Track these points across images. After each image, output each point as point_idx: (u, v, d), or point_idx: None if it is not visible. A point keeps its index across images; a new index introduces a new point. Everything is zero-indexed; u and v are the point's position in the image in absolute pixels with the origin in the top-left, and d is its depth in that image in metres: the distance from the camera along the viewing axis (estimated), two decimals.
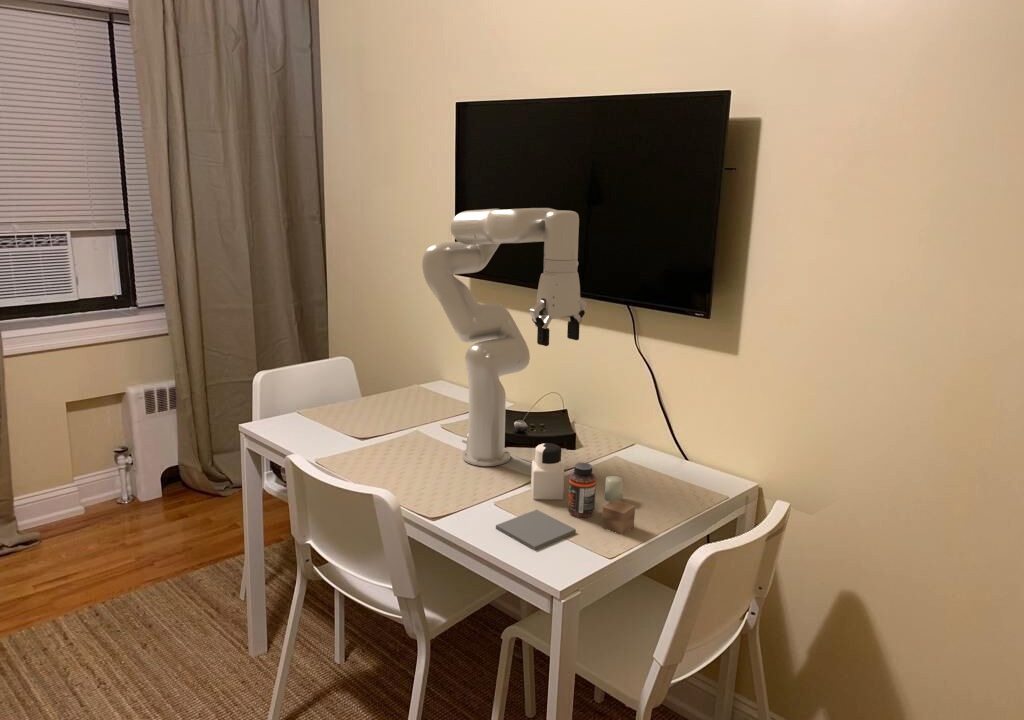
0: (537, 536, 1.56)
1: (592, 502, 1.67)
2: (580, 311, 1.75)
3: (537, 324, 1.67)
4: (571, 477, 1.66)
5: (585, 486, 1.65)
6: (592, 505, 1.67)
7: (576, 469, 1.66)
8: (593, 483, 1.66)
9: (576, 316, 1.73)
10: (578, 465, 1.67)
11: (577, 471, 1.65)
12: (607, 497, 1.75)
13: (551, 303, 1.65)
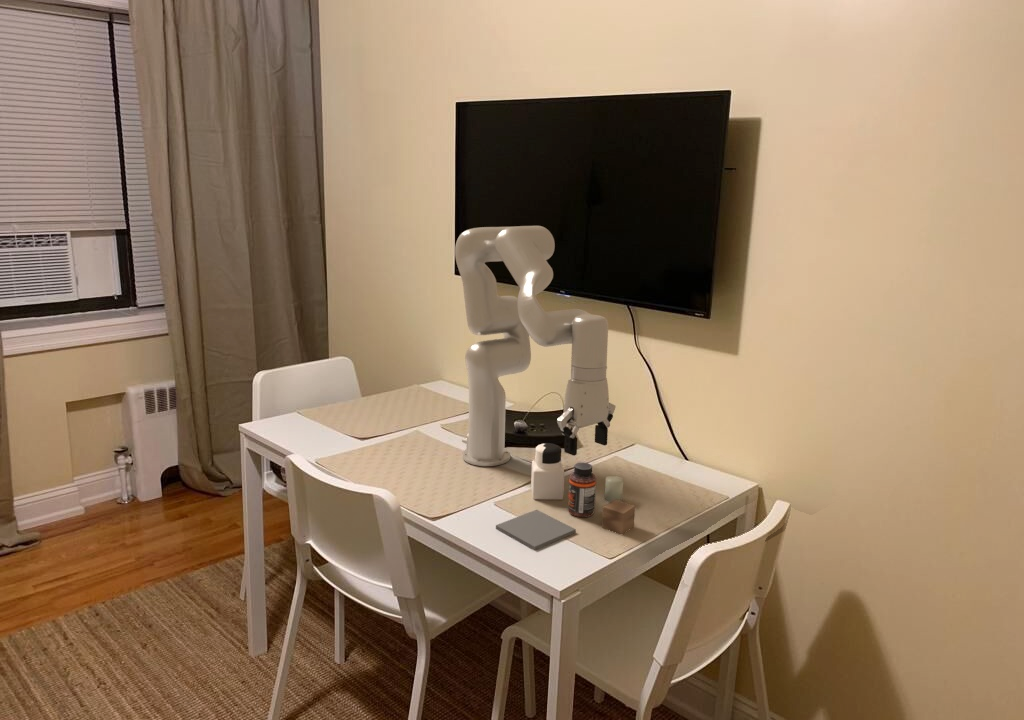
0: (537, 536, 1.56)
1: (592, 502, 1.67)
2: (608, 415, 1.68)
3: (564, 433, 1.60)
4: (571, 477, 1.66)
5: (585, 486, 1.65)
6: (592, 505, 1.67)
7: (576, 469, 1.66)
8: (593, 483, 1.66)
9: (604, 421, 1.66)
10: (578, 465, 1.67)
11: (577, 471, 1.65)
12: (607, 497, 1.75)
13: (579, 412, 1.58)
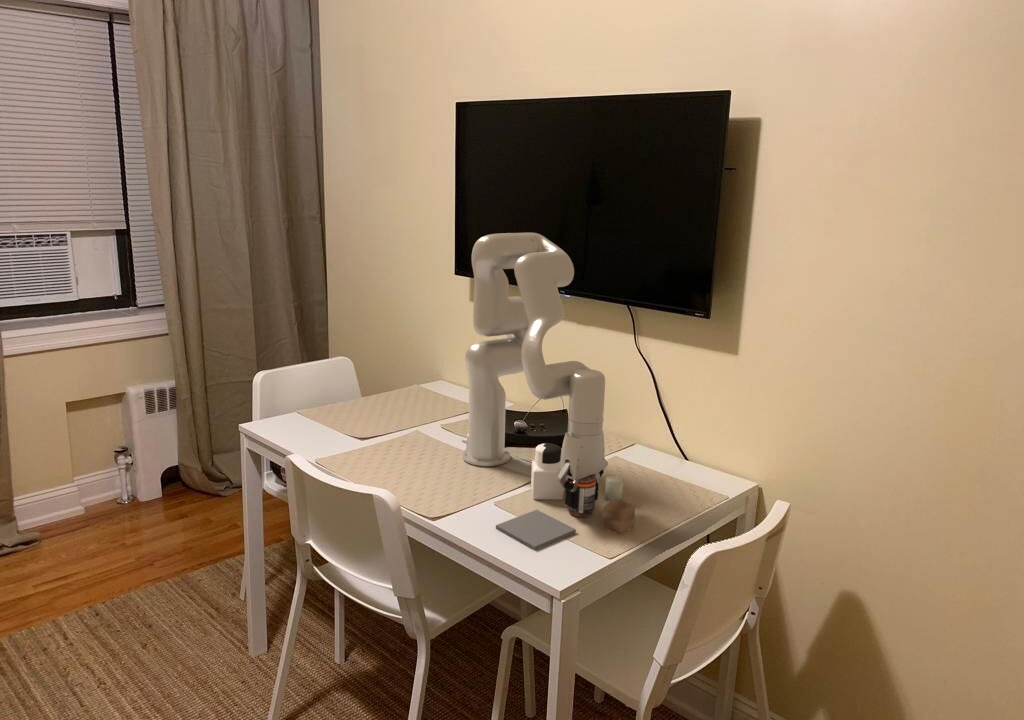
0: (537, 536, 1.56)
1: (592, 502, 1.67)
2: (599, 470, 1.70)
3: (565, 488, 1.64)
4: None
5: (585, 486, 1.65)
6: (592, 505, 1.67)
7: None
8: (593, 483, 1.66)
9: (596, 475, 1.68)
10: None
11: None
12: (607, 497, 1.75)
13: (575, 466, 1.62)
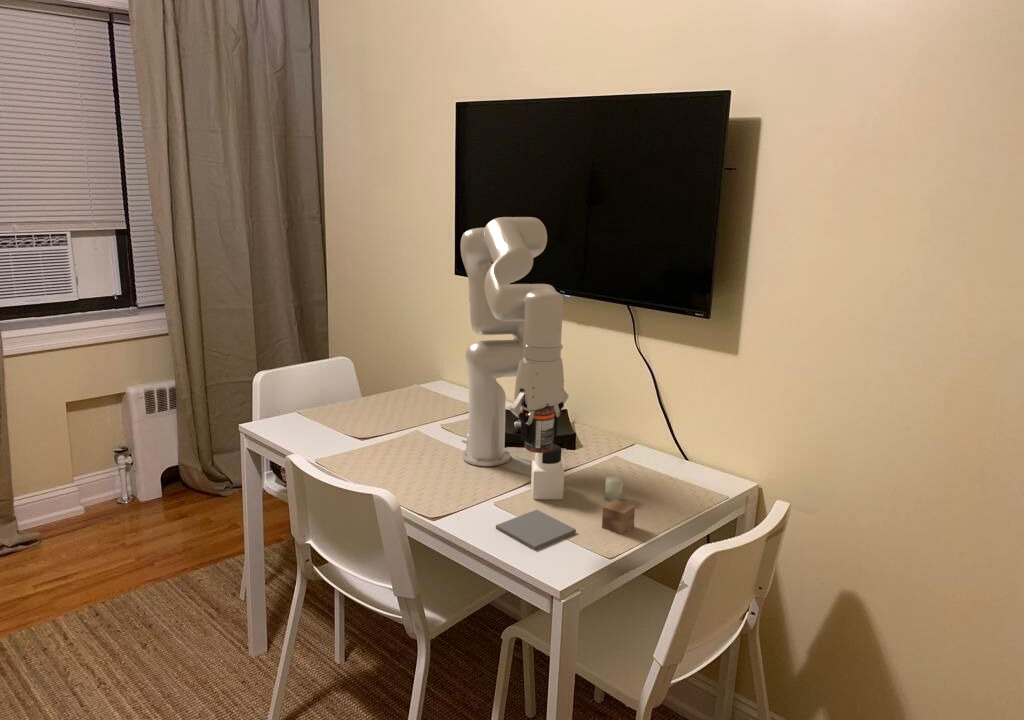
0: (537, 536, 1.56)
1: (550, 436, 1.53)
2: (558, 403, 1.57)
3: (520, 420, 1.51)
4: None
5: (542, 418, 1.51)
6: (550, 440, 1.53)
7: None
8: (551, 415, 1.52)
9: (555, 408, 1.55)
10: None
11: None
12: (607, 497, 1.75)
13: (530, 394, 1.48)
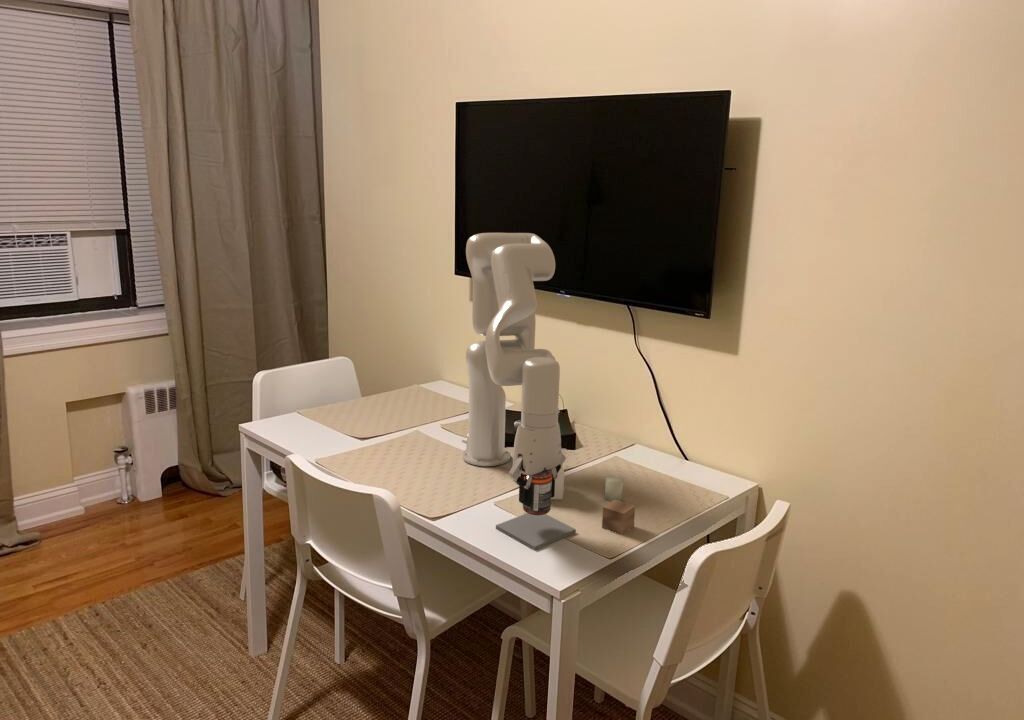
0: (537, 536, 1.56)
1: (548, 499, 1.56)
2: (556, 465, 1.60)
3: (518, 484, 1.54)
4: None
5: (540, 482, 1.54)
6: (548, 502, 1.57)
7: None
8: (549, 479, 1.55)
9: (553, 471, 1.58)
10: None
11: None
12: (607, 497, 1.75)
13: (528, 460, 1.52)
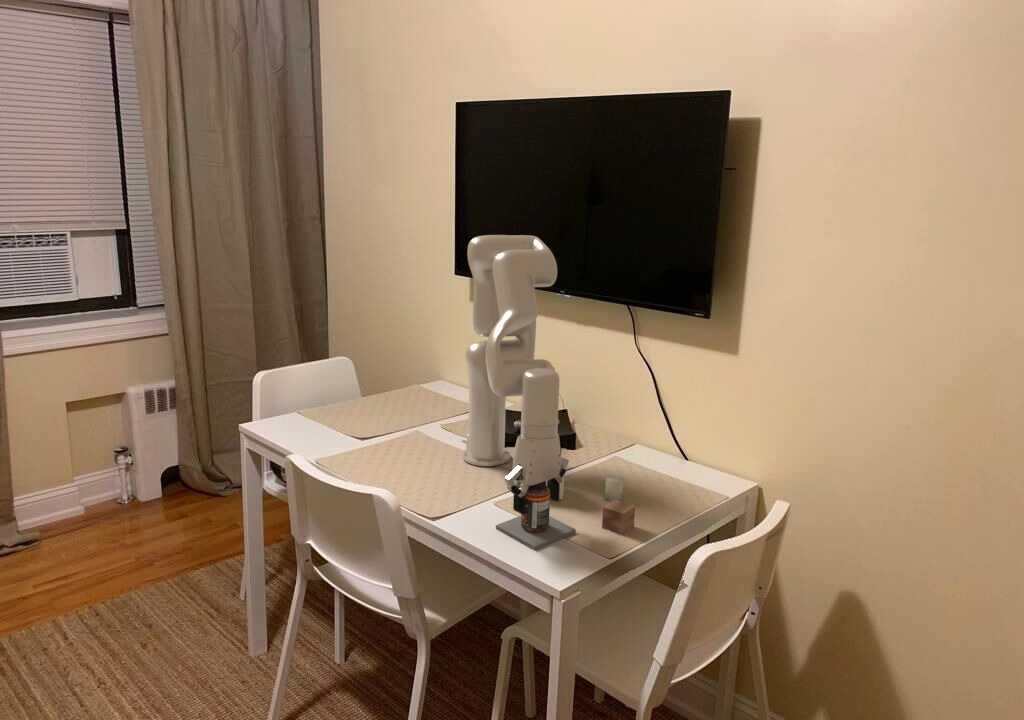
0: (537, 536, 1.56)
1: (546, 516, 1.58)
2: (561, 470, 1.61)
3: (513, 492, 1.53)
4: None
5: (538, 500, 1.55)
6: (546, 520, 1.58)
7: None
8: (547, 496, 1.56)
9: (556, 477, 1.59)
10: None
11: None
12: (607, 497, 1.75)
13: (528, 471, 1.52)
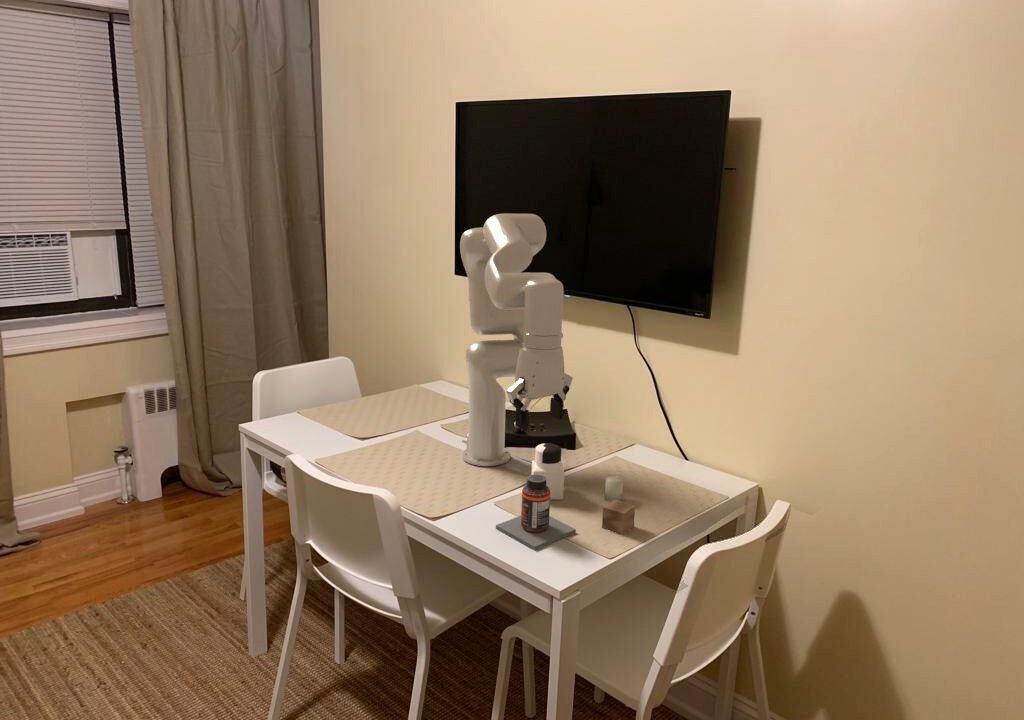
0: (537, 536, 1.56)
1: (546, 516, 1.58)
2: (564, 387, 1.57)
3: (515, 405, 1.49)
4: (524, 490, 1.57)
5: (538, 499, 1.55)
6: (546, 520, 1.58)
7: (529, 482, 1.56)
8: (547, 496, 1.56)
9: (560, 394, 1.55)
10: (531, 477, 1.57)
11: (529, 483, 1.56)
12: (607, 497, 1.75)
13: (531, 383, 1.48)
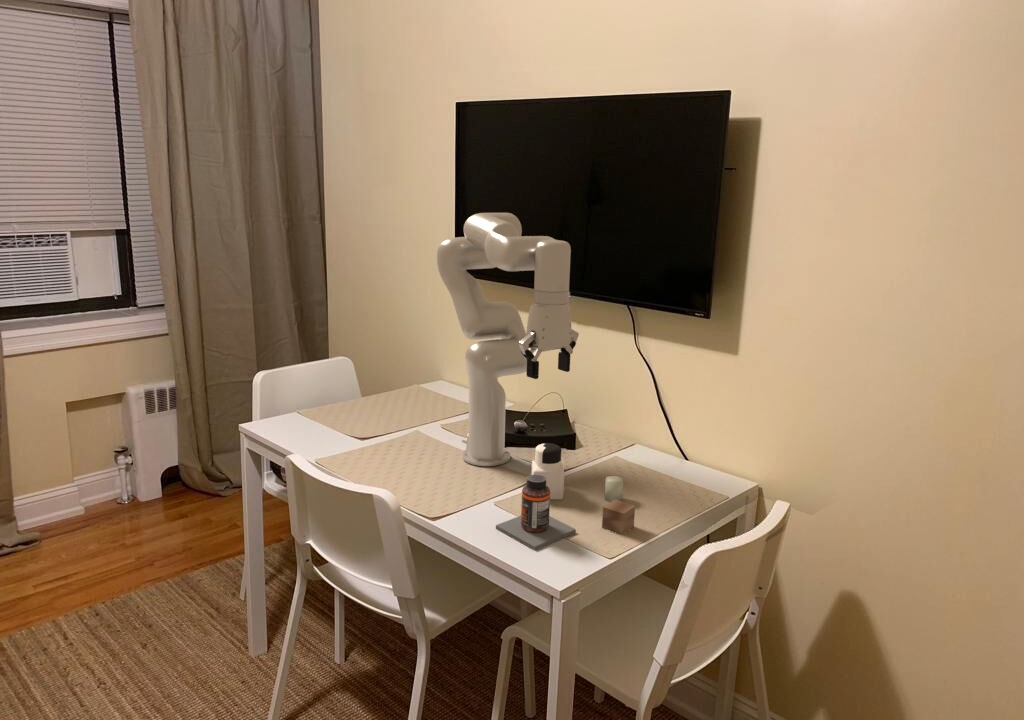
0: (537, 536, 1.56)
1: (546, 516, 1.58)
2: (571, 342, 1.70)
3: (526, 357, 1.62)
4: (524, 490, 1.57)
5: (538, 499, 1.55)
6: (546, 520, 1.58)
7: (529, 482, 1.56)
8: (547, 496, 1.56)
9: (567, 347, 1.68)
10: (531, 477, 1.57)
11: (529, 484, 1.56)
12: (607, 497, 1.75)
13: (541, 336, 1.61)
